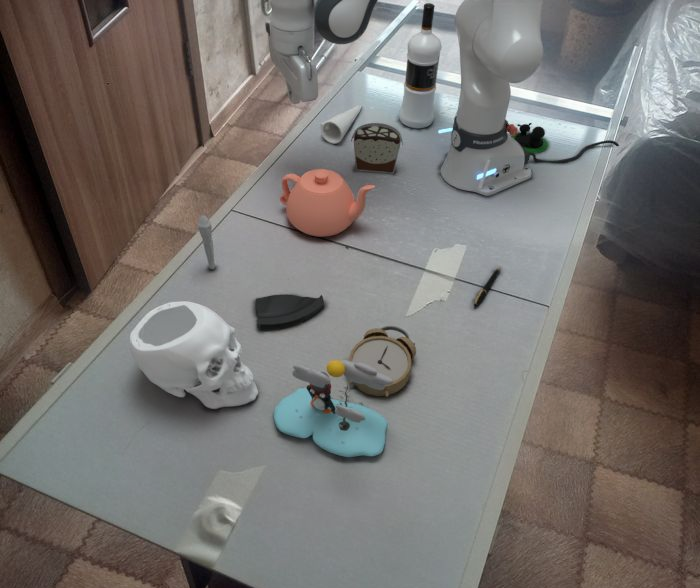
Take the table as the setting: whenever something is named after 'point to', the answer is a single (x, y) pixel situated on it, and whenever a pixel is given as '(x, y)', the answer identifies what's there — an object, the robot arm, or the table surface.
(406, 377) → the alarm clock
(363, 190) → the teapot
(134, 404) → the table surface
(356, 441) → the penguin figurine
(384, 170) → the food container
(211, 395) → the skull planter
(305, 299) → the dark sector wedge
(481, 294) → the fountain pen
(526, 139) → the toy figurine
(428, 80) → the vodka
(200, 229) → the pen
